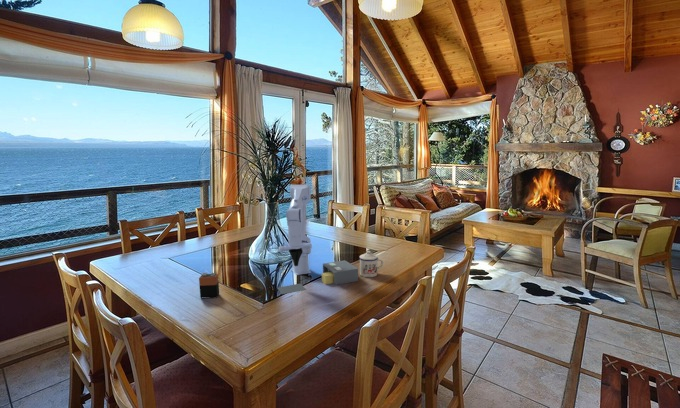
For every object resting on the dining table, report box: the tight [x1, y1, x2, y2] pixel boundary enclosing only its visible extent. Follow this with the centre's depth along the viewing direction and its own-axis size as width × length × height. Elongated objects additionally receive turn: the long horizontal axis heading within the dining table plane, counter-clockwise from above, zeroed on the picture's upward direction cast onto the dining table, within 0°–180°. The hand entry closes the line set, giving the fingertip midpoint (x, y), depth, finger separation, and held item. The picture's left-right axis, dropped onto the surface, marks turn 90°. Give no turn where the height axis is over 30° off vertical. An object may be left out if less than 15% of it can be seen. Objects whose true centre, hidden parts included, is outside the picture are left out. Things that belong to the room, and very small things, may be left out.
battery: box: [198, 272, 220, 298], centre depth 144 cm, size 4×7×10 cm, turn 96°
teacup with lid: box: [358, 250, 384, 278], centre depth 168 cm, size 12×9×12 cm
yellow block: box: [321, 272, 334, 285], centre depth 159 cm, size 4×8×4 cm, turn 115°
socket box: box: [322, 259, 359, 285], centre depth 164 cm, size 14×12×6 cm
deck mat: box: [276, 283, 307, 295], centre depth 151 cm, size 8×11×1 cm
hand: (295, 265), depth 153 cm, fingers closed
